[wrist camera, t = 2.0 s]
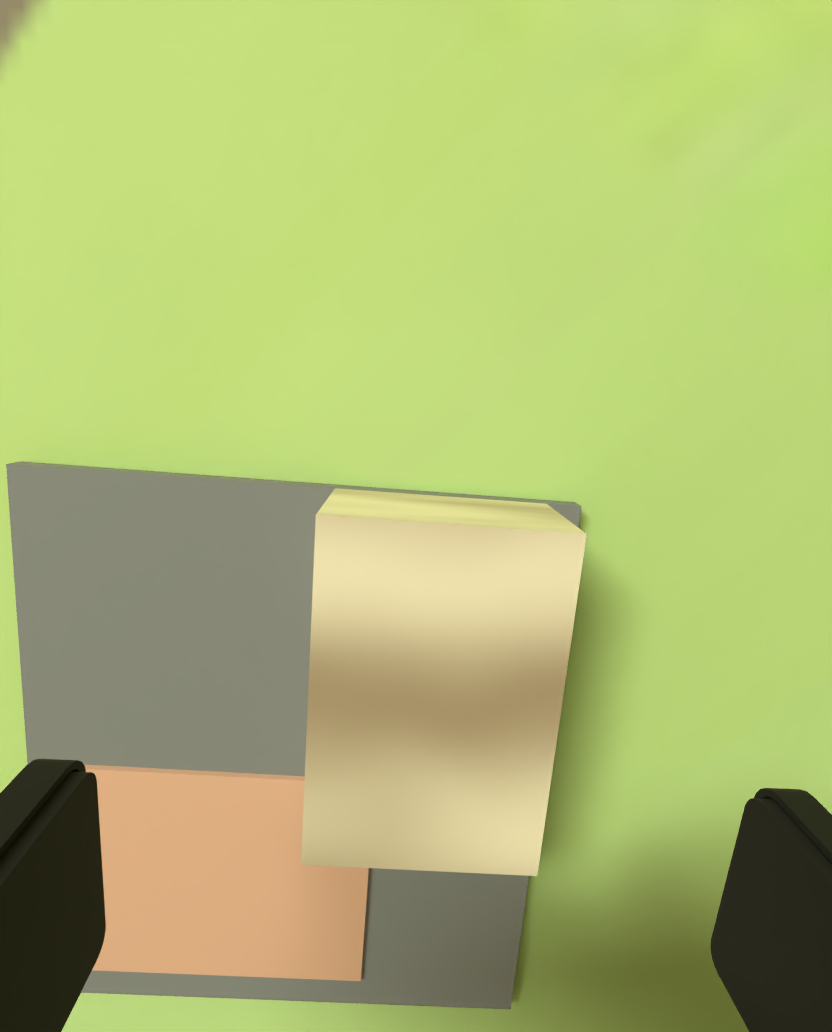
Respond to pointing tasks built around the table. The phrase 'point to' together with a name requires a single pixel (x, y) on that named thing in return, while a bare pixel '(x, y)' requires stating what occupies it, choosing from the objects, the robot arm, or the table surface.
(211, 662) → the rubber mat
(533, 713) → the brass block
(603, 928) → the table surface
